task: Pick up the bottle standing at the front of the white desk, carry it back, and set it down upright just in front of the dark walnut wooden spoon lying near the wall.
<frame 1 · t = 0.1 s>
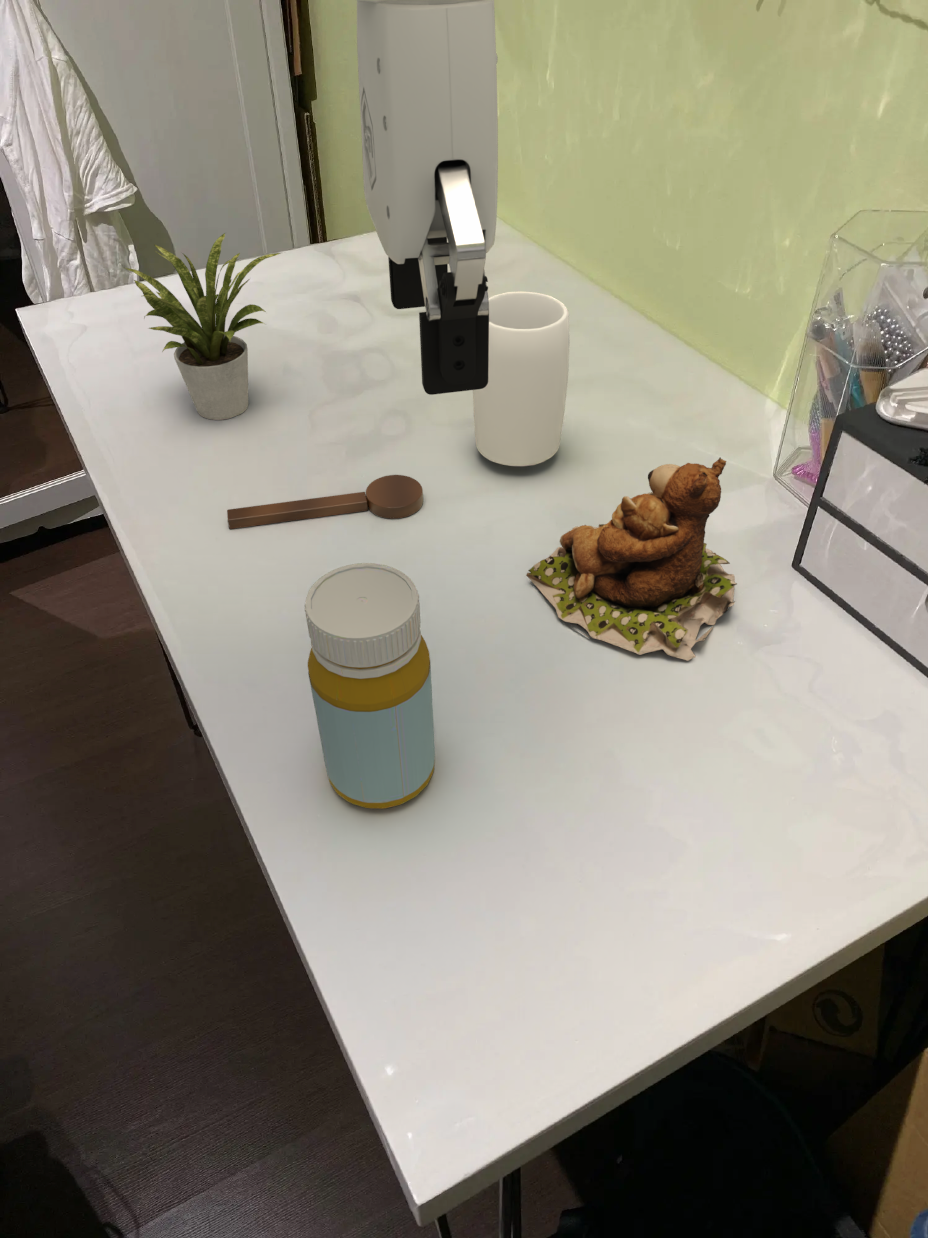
hand: (436, 343, 48), 25 cm above the table, tool pointing down, fingers open, 9 cm apart
spoon: (333, 510, 80), on the table
bottle: (381, 771, 59), on the table
bear figurine: (632, 593, 72), on the table
cup: (516, 455, 86), on the table
house plant: (233, 403, 94), on the table
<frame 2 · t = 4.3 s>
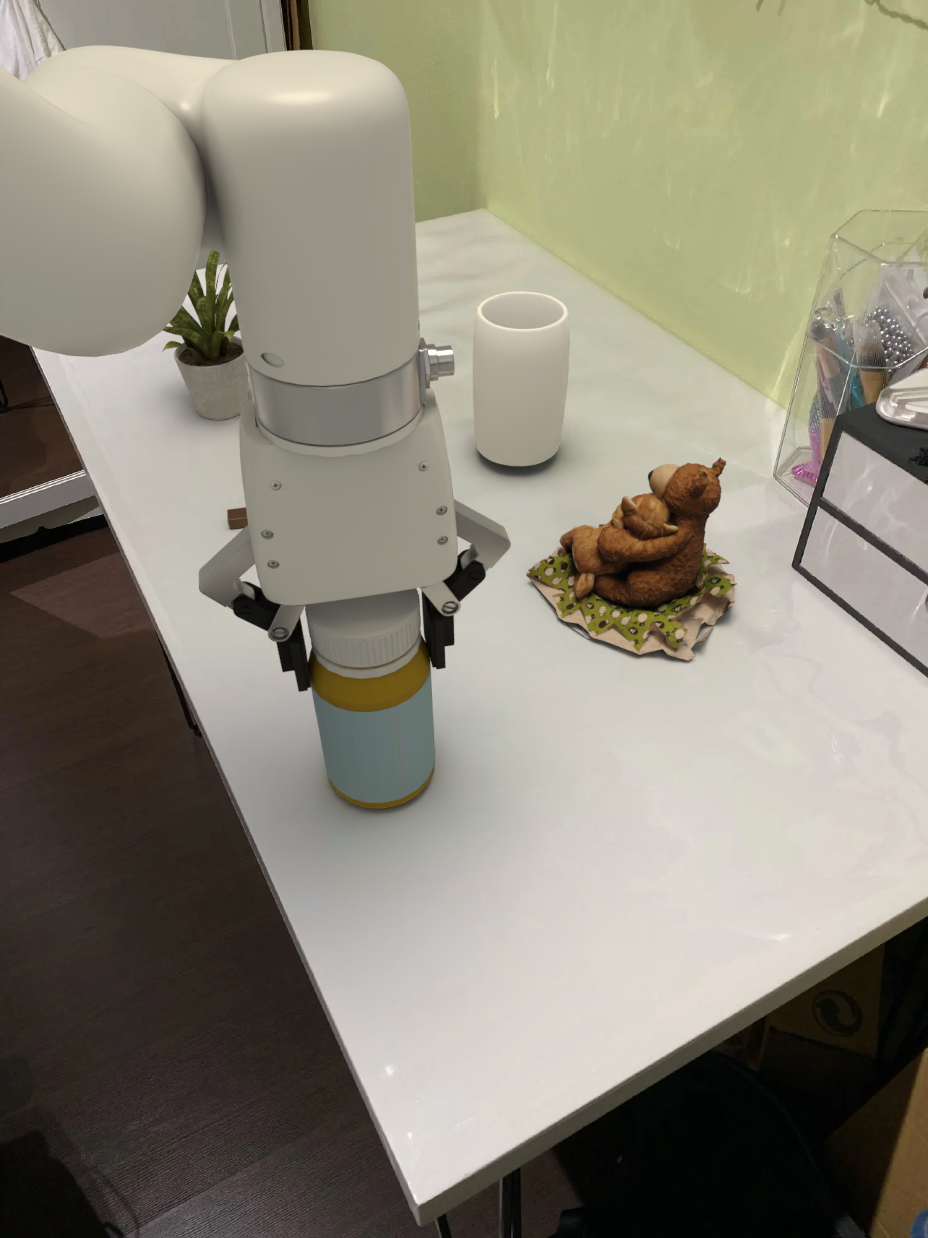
hand: (369, 661, 52), 10 cm above the table, tool pointing down, fingers closed on bottle, 7 cm apart
bottle: (381, 771, 59), on the table, touching gripper
everything else where it was.
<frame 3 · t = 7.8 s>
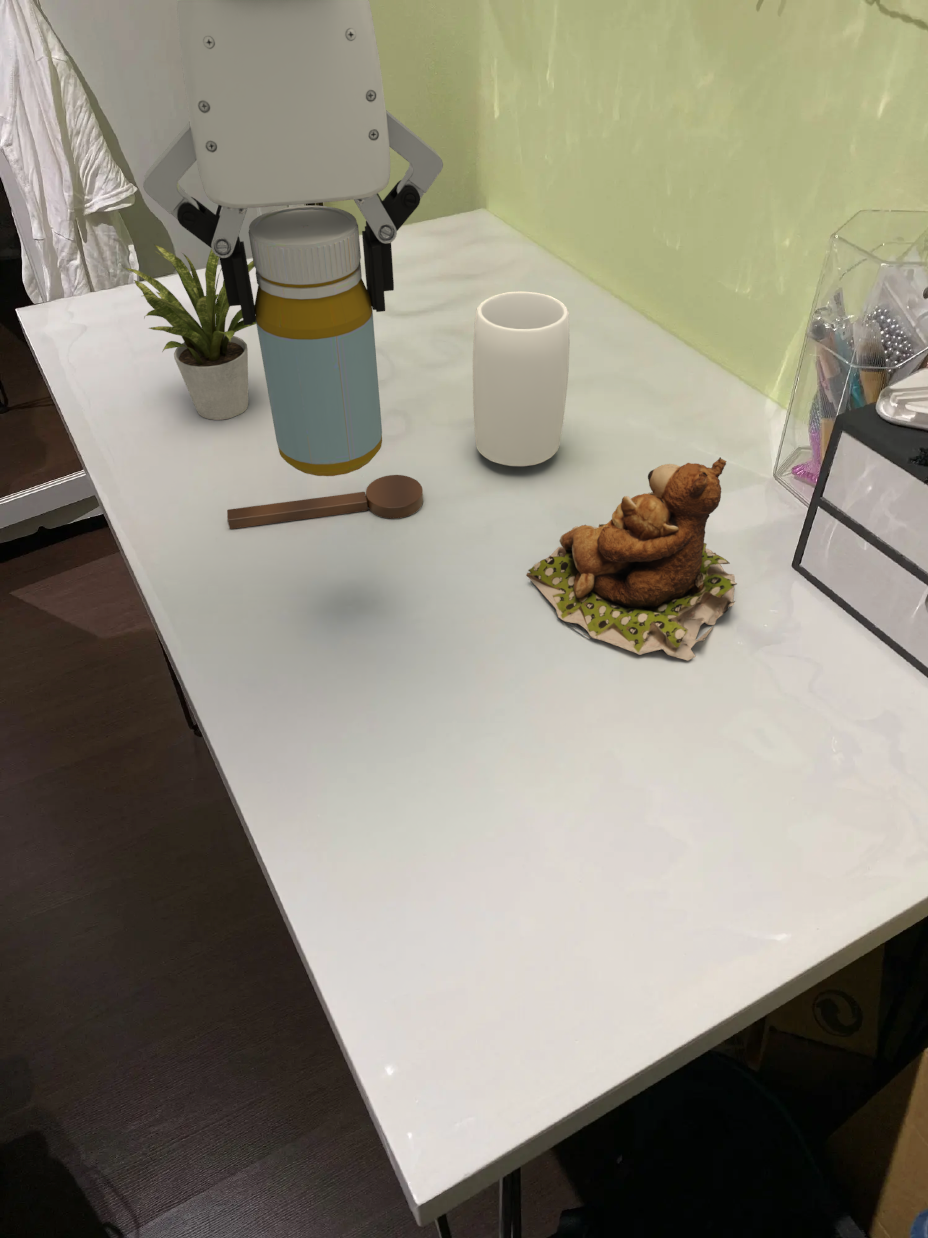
hand: (313, 306, 55), 24 cm above the table, tool pointing down, fingers closed on bottle, 7 cm apart
bottle: (331, 453, 62), point 14 cm above the table, touching gripper
everything else where it was.
when the fingers open (10 cm above the table, at t = 11.4 s): bottle stays where it is, on the table.
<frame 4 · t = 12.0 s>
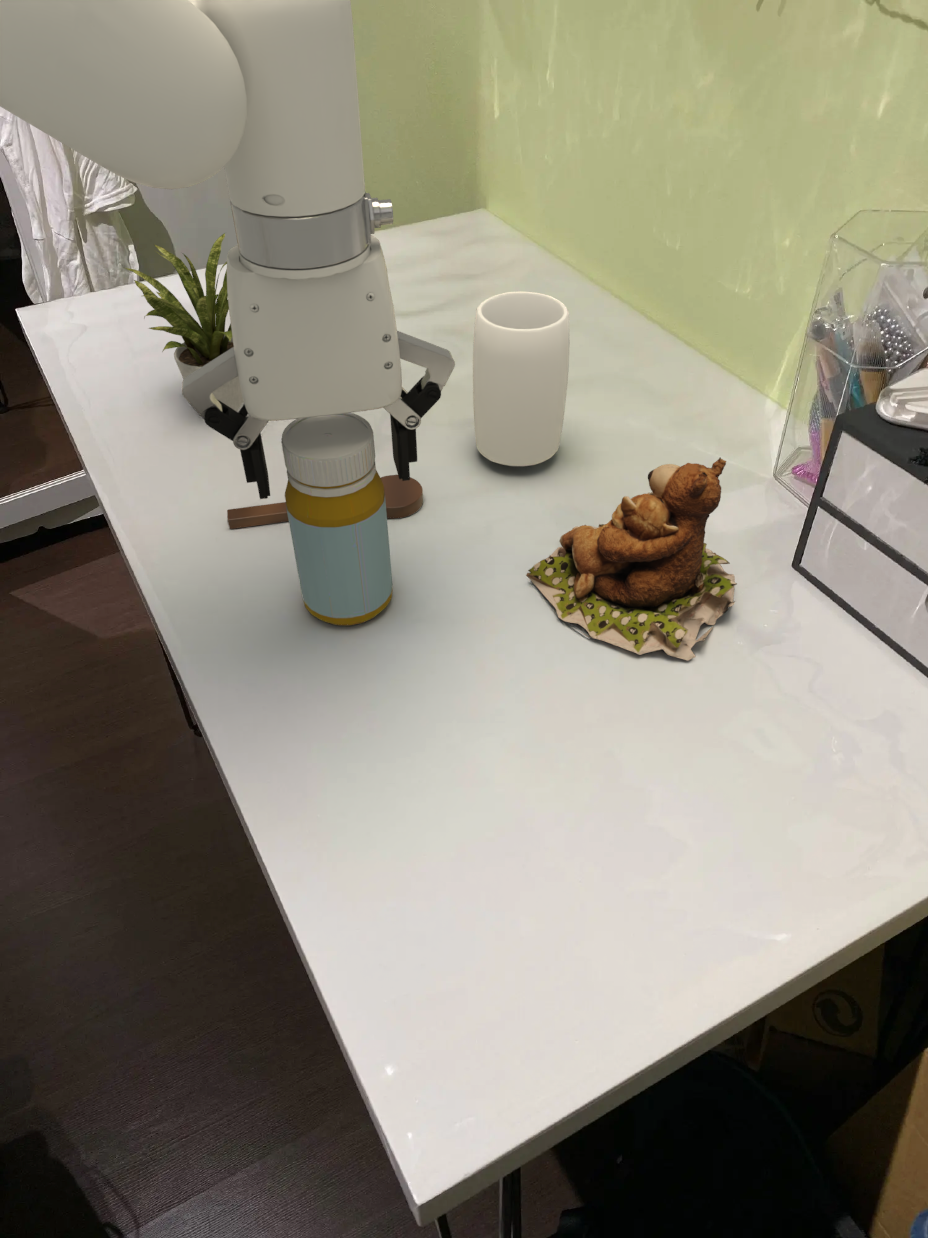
hand: (333, 478, 63), 11 cm above the table, tool pointing down, fingers open, 9 cm apart
bottle: (348, 601, 71), on the table
everything else where it was.
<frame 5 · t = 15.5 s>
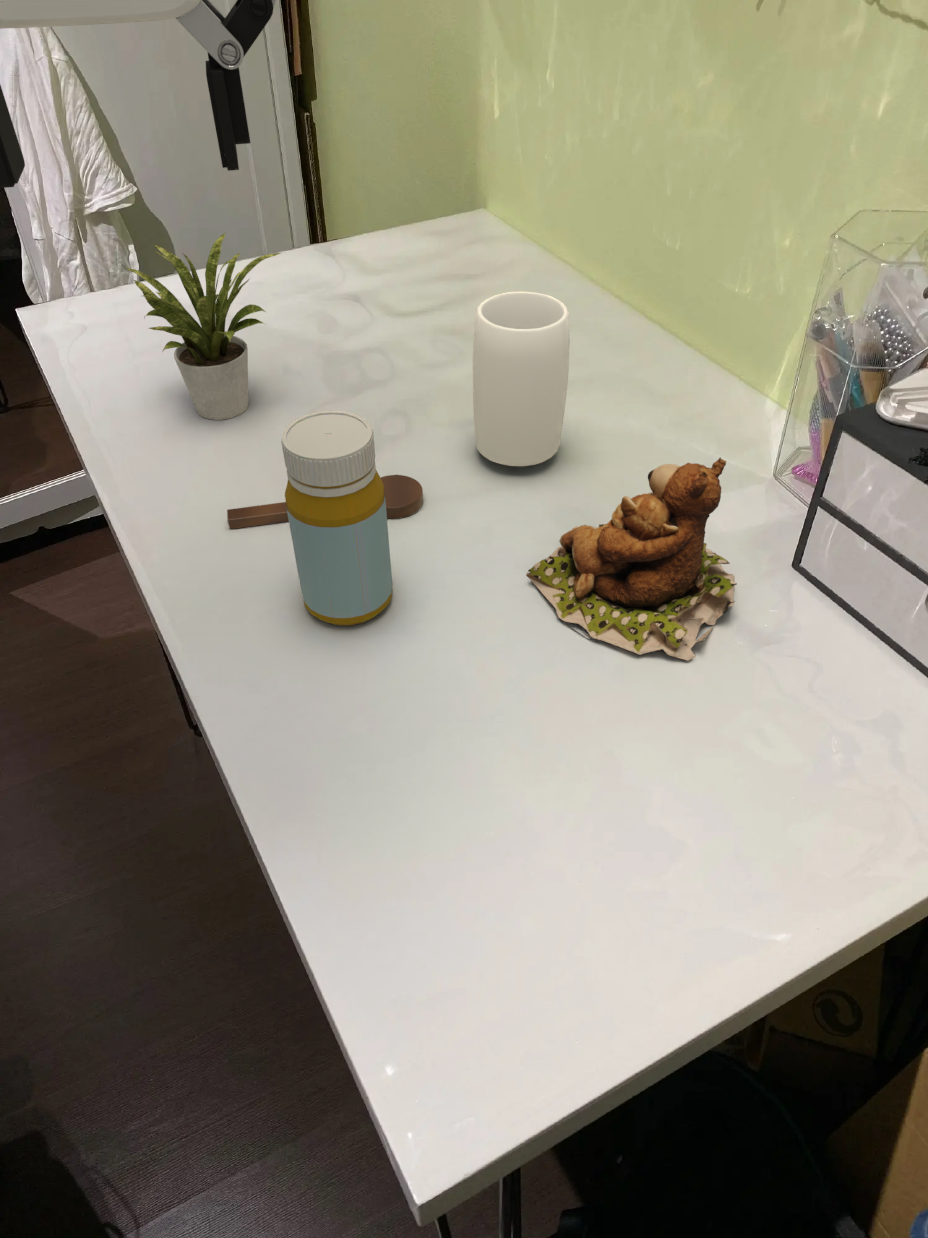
hand: (124, 169, 42), 34 cm above the table, tool pointing down, fingers open, 9 cm apart
nothing on the table moved.
at the end: bottle inside the target area on the table beside the spoon (0.5 cm from its centre), on the table; bottle tilted 0°; the gripper is holding nothing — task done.
